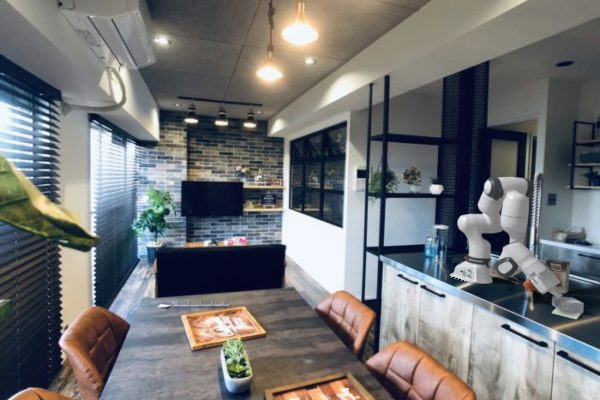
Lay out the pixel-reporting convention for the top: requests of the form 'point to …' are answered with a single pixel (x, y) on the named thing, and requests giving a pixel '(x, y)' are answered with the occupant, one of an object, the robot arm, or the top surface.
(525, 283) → the pot
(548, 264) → the coffee box
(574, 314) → the sage mat
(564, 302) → the medicine box
